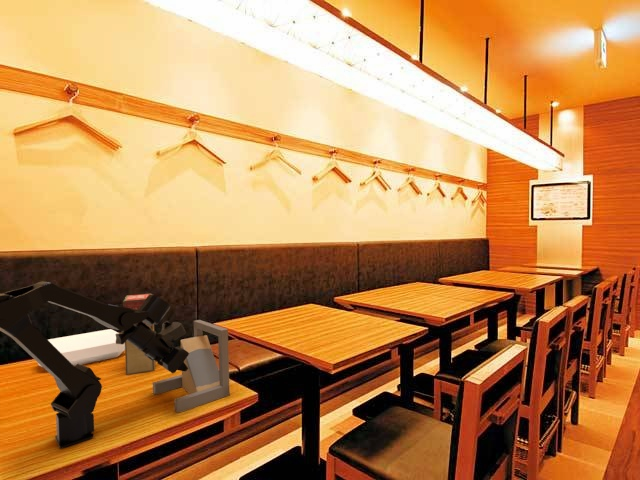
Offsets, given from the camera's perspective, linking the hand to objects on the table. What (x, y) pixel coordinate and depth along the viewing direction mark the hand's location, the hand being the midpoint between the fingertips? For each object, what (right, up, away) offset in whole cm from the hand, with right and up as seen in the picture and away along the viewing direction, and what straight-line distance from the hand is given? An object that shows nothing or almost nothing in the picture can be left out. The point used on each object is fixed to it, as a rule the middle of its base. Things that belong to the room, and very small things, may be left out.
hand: (186, 369), depth 109 cm
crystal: (-50, -8, +33) cm, 60 cm away
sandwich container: (+4, -8, +3) cm, 9 cm away
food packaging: (-25, -8, +25) cm, 36 cm away
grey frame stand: (+1, -7, +1) cm, 7 cm away
